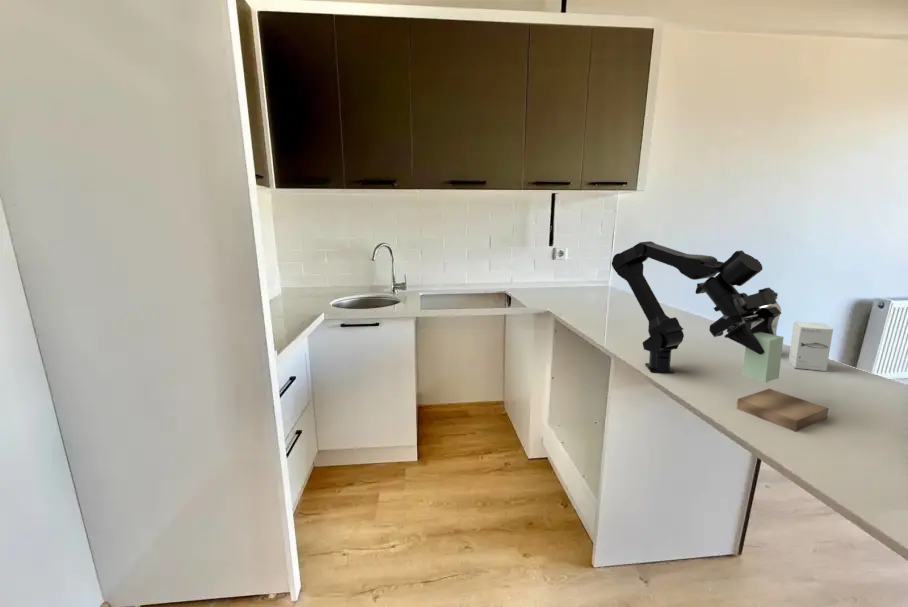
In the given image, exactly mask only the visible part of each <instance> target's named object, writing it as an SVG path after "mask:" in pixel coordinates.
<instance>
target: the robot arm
mask: <svg viewBox="0 0 908 607" xmlns="http://www.w3.org/2000/svg"><path fill="white" fill-rule="evenodd" d="M648 258H649V259H651V260H654V261H657V262H659V263H663V264H666V265H668V266H670V267H673V268H675V269H676V270H678V271H679V273H680V274H681V275H683V276H685V277H687V278H688V279H690V280H693V281H695V280H697V281H698V280H702V279H703V280H704V279H706V280H705V281H704V282H698V283H696V289H695V294H696V295H698V294H706V295H707V296H708V298H710V300H711V301H712V303H713V304H714V305H715V307H713V310H714V311H715V312H720V313H721V314H722V316H721V317H719V318H718V319H717V320H716V321H714V322H713V323H711V324H709V328H708V329H709V333H711V335H712V336H713V338H717V337H720V336H723V335H724V331H726V332H727V334H725V335H724V338H726V339H727V338H728V339H729V340H732V341H734V342H736V343H738V344H740V345H742V346H743V347H747V348H749V349H751V350H752V351H754V352H756V353H758V354H760V355H761V354H763V353H764V350H763V348H762V346H761V345H760V343H759V342H758V340H757V339H756V337H755V336H754V333H758V332H762V333H767V334H772V335H774V333H773V330H772V322H773V320H774V319H775V317H777V316H779V315H780V316H781V315H782V311H781V312H780V311H779V310H778V309H777V307H773V306H768V307H763V308H761V309H760V308H759V307H761V306H765V305H769V304H775V303H778V301H777V299H778V292H776V291H775V290H774V289H772V288H771V287H764V288H762V289H758V292H756V293H753V294H750V295H748V294H747V293H745V292H739V291H738V290H737V289H736V287H735V286H738V287H741V286H744V285H745V284H746V283H747V282H749V281H750V280H751V279H752V278H754V277H755V276H756V275H758V274H759V273H761V271H763V268H764V267H763V265H762V263H761V262H760V261H759V259H757V258H755V257H753V256H752V255H750V254H748V253H745V252H744V251H743V250H736V251H735V252H733V253H732V254H731V256H730V257H728V259H727V260H725V261H724V262H722V261H718V259H717V257H714V256H712V255H704V254H693V253H691V254H690V253H686V252H682V251H679V250H677V249H673V248H670V247H667V246H664V245H661V244H657V243H655V242H654V241H640V242H638V243H637V244H635V245H633V246H632V247H630V248H628V249H626V250H624V251H622V252H619V253H616V254H614V256H613V258H612V261H611V266H612V268H613V270H614V271H615V272H616V274H617V275H618V276H619V277H620V278H622V279H623V280H624V281H626V282H627V284H628V286H629V288H630V289H631V291H632V293H633V295H634V297H635V298H636V300H637V302H638V304H639V306H640V308H641V310H642V312H643V313H644V315H645V317H646V319H647V321H648V331H647V332H648V335H649V337H648V338H646V339H645V340H644V341H643V342H642V346H643V350H645V351H648V352H649V357H648V358H649V359H648V363H647V362H646V363H644V365H645V367H646V368H647V369H648V371H649V372H650V373H665V372H674V373H675V370H674V369H673V368H672V367H671V360H672V351H674V350H677V349H678V348H679V345H680V344H682V342H683V341H684V337H685V335H684V331H683V330H684V327H682V326H681V324H680V322H679V319H678V318H677V317H669V316H667V315H666V313H665V311H664V310H663V308H662V306H661V304H660V302H659V301H658V299H657V297H656V295H655V293H654V292H653V290H652V288H651V286H650V284H649V283H648V281H647V279H646V277H645V276H644V264H643V263H644V262H646V261H648ZM775 292H776V293H775ZM776 298H777V299H776ZM775 299H776V300H775ZM776 301H777V302H776ZM756 311H757V312H756Z"/></svg>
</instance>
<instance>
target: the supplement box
mask: <svg viewBox="0 0 908 607" xmlns="http://www.w3.org/2000/svg"><path fill="white" fill-rule="evenodd" d="M833 331H834V328H832V327H831V326H829V325H828V324H827V323H824V322H822V323H821V322H807V321H795V320H794V321H793V324H792V333H791V340H790V347H789V348H790V349H789V354H788V362H789V363H790V364H791V366H792V367H793V368H794V369H800V370H801V369H804V370H813V371H821V372H827V369H828V365H829V364H828V363H829V357H830V352H831V351H830V349H831V344H832V338H833Z"/></svg>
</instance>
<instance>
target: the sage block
mask: <svg viewBox="0 0 908 607" xmlns="http://www.w3.org/2000/svg"><path fill="white" fill-rule="evenodd" d="M754 336H755V337H756V339H757V340H758V342H759V343H760V345H761V346H762V348H763V350H764V353H763V354H761V355H760V354H758V353H756V352H754V351H752V350H751V349H749V348H747V347H745V346H744V347H745V348H744V358H743V369H742V376H744V377H747V378H750V379H753V380H756V381H760V382H763V383H769V382H771V381H775V380H777V379H779V378H780V372H781V371H780V369H781V368H780V367H781V363H782V362H781V361H782V354H783V353H782V352H783V344H784V336H782V335H777V334H776V335H772V334H767V333H762V332H758V333H754Z"/></svg>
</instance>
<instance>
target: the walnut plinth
mask: <svg viewBox="0 0 908 607" xmlns="http://www.w3.org/2000/svg"><path fill="white" fill-rule="evenodd" d="M736 409H737V410H739V411H742V412H744V413H747V414H749V415H752V416H754V417H757V418H760V419H763V420H764V421H767V422H770V423H772V424H776V425H777V426H780V427H783V428H785V429H788V430H791V431H793V432H797V431H801V430H803V429H805V428H807V427H810V426H812V425H815V424H817V423H820V422H821V421H825V420H827V419H828V417H829V407H827V406H824V405H822V404H818V403H814V402H812V401H809V400H805V399H802V398H799V397H796V396H793V395H790V394H787V393H785V392H784V393H783V392H781V391H778V390H774V389H771V388H767V389H764V390H761V391H757V392H754V393H751V394H748V395H746V396H743V397H738V398H737V405H736Z"/></svg>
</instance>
